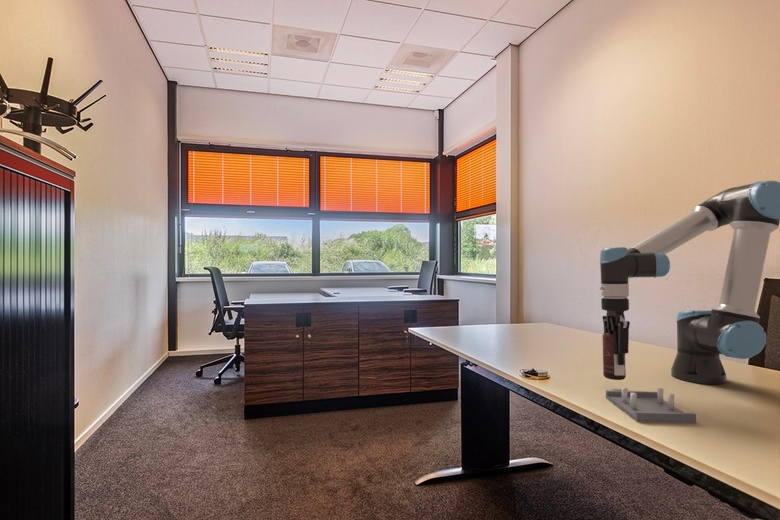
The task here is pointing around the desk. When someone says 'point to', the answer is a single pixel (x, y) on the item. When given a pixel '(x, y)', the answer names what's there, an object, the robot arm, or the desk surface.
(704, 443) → the desk surface
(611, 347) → the can
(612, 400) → the tray
